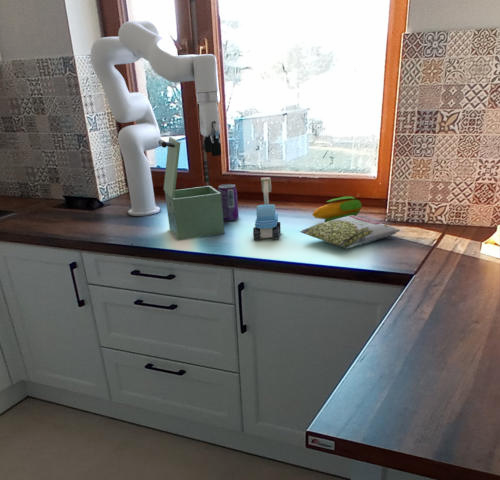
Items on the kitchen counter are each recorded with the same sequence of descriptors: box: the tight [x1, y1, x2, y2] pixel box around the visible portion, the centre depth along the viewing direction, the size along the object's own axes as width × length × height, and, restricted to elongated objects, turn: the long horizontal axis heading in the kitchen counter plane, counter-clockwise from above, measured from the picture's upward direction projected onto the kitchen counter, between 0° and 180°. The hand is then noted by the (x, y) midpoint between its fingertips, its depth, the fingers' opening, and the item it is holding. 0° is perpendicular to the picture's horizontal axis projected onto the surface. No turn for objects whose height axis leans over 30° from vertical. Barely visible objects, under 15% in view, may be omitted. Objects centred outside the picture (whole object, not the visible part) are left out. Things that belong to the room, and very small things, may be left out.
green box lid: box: [158, 136, 182, 198], centre depth 191 cm, size 17×14×5 cm
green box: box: [164, 185, 225, 241], centre depth 201 cm, size 16×14×13 cm
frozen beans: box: [299, 215, 401, 250], centre depth 185 cm, size 21×6×25 cm
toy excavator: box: [252, 177, 282, 241], centre depth 192 cm, size 9×17×17 cm, turn 174°
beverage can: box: [217, 183, 240, 222], centre depth 213 cm, size 7×7×12 cm
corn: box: [311, 196, 363, 223], centre depth 206 cm, size 7×8×20 cm
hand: (213, 153), depth 201 cm, fingers open, 9 cm apart
